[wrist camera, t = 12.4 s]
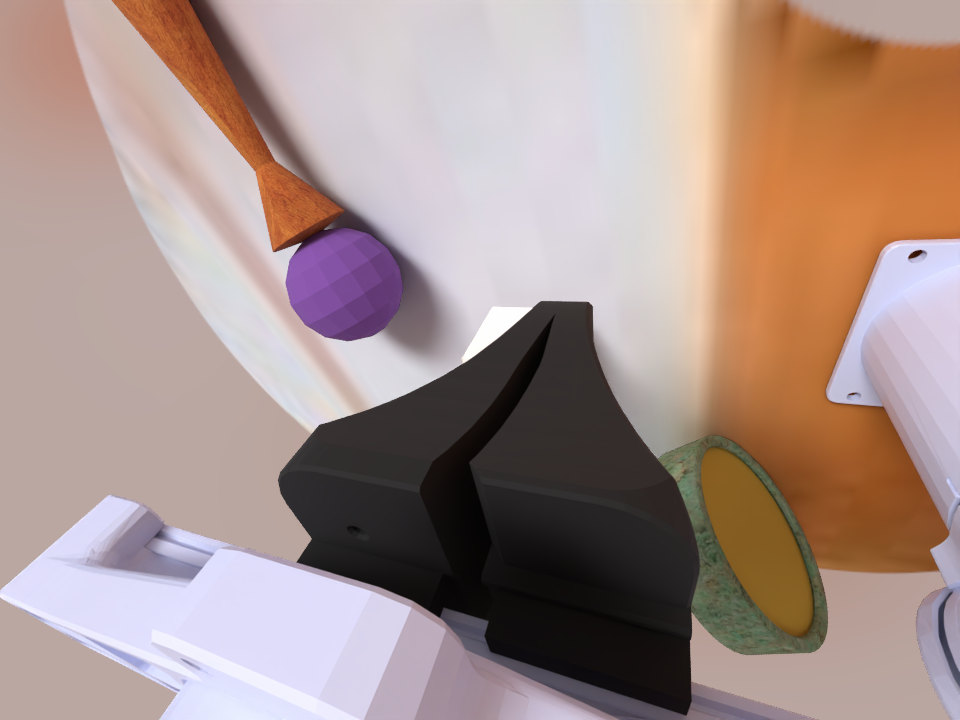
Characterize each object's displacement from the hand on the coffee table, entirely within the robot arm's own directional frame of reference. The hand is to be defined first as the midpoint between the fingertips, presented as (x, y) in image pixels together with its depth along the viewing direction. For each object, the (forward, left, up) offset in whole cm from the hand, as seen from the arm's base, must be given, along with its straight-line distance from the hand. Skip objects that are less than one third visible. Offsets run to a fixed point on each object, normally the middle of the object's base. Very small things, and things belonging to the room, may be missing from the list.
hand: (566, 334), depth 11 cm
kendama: (+16, -4, -11) cm, 20 cm away
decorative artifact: (-5, +17, -11) cm, 21 cm away
